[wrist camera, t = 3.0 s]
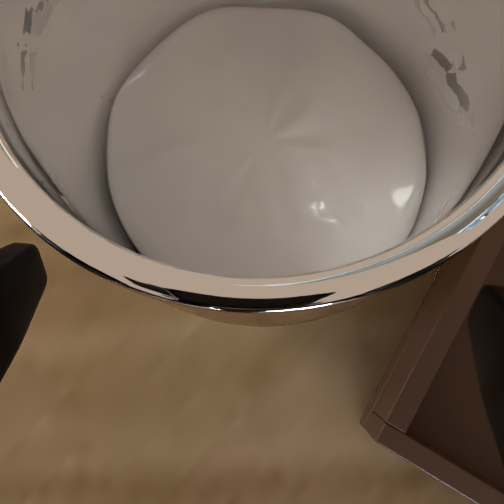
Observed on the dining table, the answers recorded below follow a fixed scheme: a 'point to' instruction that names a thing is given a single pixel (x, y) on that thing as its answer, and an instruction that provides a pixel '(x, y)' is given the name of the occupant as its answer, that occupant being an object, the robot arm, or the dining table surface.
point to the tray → (444, 382)
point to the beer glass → (254, 144)
